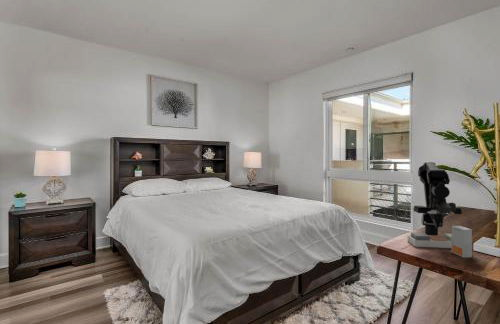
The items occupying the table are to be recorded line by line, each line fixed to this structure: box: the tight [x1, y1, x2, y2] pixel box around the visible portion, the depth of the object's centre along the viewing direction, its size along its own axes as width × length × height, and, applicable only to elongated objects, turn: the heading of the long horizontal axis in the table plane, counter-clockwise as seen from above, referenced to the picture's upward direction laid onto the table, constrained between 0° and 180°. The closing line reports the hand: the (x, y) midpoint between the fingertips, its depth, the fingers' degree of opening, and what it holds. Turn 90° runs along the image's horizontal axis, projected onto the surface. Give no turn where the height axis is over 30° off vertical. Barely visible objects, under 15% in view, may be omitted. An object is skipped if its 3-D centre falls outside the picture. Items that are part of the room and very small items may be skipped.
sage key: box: [443, 233, 452, 241], centre depth 123 cm, size 6×6×2 cm
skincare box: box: [450, 225, 473, 259], centre depth 112 cm, size 6×4×12 cm
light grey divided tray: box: [407, 234, 451, 249], centre depth 125 cm, size 8×23×3 cm, turn 79°
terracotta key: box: [429, 235, 448, 241], centre depth 125 cm, size 6×6×2 cm
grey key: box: [410, 231, 430, 240], centre depth 126 cm, size 6×6×2 cm
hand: (437, 227), depth 125 cm, fingers closed
